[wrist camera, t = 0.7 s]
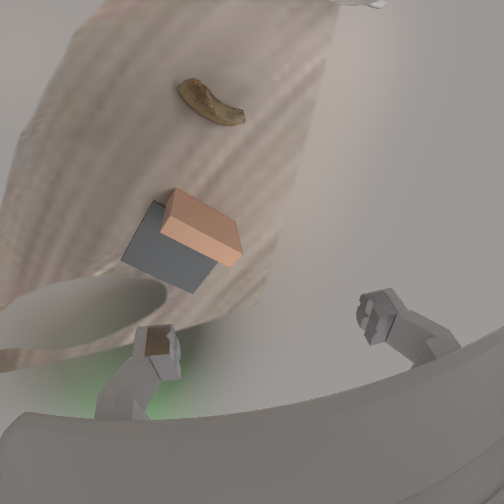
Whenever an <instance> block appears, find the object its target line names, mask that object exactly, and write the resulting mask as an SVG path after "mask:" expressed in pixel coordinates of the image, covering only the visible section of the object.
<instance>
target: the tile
mask: <svg viewBox="0 0 504 504" xmlns="http://www.w3.org/2000/svg"><path fill="white" fill-rule="evenodd" d="M160 233H162V234H164V235H166V236H168V237H170V238H172V239H174V240H176V241H178V242H180V243H182V244H184V245H186V246H188V247H190V248H192V249H194V250H196V251H198V252H200V253H202V254H204V255H206V256H208V257H210V258H212V259H214V260H216V261H218V262H220V263H222V264H224V265H226V266H228V267H230V268H232V267H233V265H234V264H235V263H236V262H237V261H238V259H239V258H240V257H241V256H242V255H243V252H242V248H241V243H240V238H239V234H238V229H237V224H236V221H234V220H233V219H231V218H229V217H227V216H226V215H224V214H222V213H220V212H219V211H217V210H215V209H213V208H212V207H210V206H208V205H206V204H205V203H203V202H201V201H199V200H198V199H196V198H194V197H192V196H190V195H189V194H187V193H185V192H183V191H182V190H180V189H178V188H175V190H174V191H173V193H172V194H171V196H170V197H169V199H168V201H167V203H166V207H165V212H164V216H163V220H162V225H161V229H160Z"/></svg>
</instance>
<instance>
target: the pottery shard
mask: <svg viewBox="0 0 504 504" xmlns="http://www.w3.org/2000/svg"><path fill="white" fill-rule="evenodd" d="M178 90H179V92H180V94H181V95H182V97H183V98H184V100H185V101H186V102H187V103H188V104H189V105H190V106H191V107H192V108H194V109H195V110H196V111H197V112H198V113H199V114H201V115H202V116H204V117H206V118H208V119H210V120H211V121H214V122H216V123H218V124H222V125H224V126H233V125H237V124H241V123H242V124H244V123H245V114H244V111H243V110H240V109H236V108H233V107H230V106H228V105H225V104H223V103H222V102H220V101H219V100H218V99H217V98H215V97H214V96H213V94H212V93H211V92H210V90H209V89H208V88H207V87H206V86H205V85H203V84H202V83H201V82H200V81H199V80H197V79H195V78H192V79H188V80H185V81H184V82H183V83H182V84H180V85H179V86H178Z"/></svg>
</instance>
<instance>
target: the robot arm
mask: <svg viewBox="0 0 504 504" xmlns="http://www.w3.org/2000/svg"><path fill="white" fill-rule="evenodd" d="M329 1H332V2H334V3H337V4H341V5H348V6H356V5H367V6H369V7H372V8H376V9H380V8H383V7H384V6H385V4H386V2H387V0H329ZM359 301H360V303H361V304H360V306H359V307H358V308H357V312H356V316H357V321H358V324H359V326H360V328H362V329H364V330H365V334H364V336H365V337H366V339H367V341H368V343H369V345H374V344H378V343H382V342H386V343H387V344H389V345H390V346H391V347H393V348H394V349H395V350H397V351H398V352H400V353H401V354H402V355H404V356H405V357H406V358H408V359H409V360H411V361H412V362H413V363H414V364H413V366H412V367H411V369H410V370H408V371H405V372H402V373H400V374H397V375H394V376H391V377H388V378H386V379H382V380H380V381H376V382H373V383H370V384H367V385H363V386H360V387H357V388H354V389H350V390H347V391H343V392H340V393H335V394H332V395H328V396H324V397H320V398H316V399H311V400H307V401H303V402H298V403H293V404H288V405H283V406H278V407H273V408H267V409H262V410H255V411H249V412H242V413H235V414H227V415H218V416H209V417H198V418H185V419H167V420H151V419H150V418H149V417H148V416H147V414H146V413H145V412H144V410H145V409H146V407H147V405H148V404H149V402H150V401H151V399H152V397H153V396H154V394H155V392H156V391H157V389H158V388H159V386H160V384H161V381H170V380H179V379H181V374H180V373H181V371H180V370H181V367H180V364H179V361H178V360H179V359H180V345H179V341H178V338H177V337H176V336H175V329H174V327H173V325H172V324H167V325H153V326H142V327H137V329H136V333H135V340H134V347H133V354H132V357H130V358H128V359H127V360H126V362H125V363H124V364H123V365H122V366H121V367H120V369H119V370H118V371H117V372H116V373H115V374H114V376H113V377H112V378H111V379H110V380H109V381H108V383H107V384H106V385H105V386H104V387H103V389H102V390H101V391H100V392H99V393H98V396H97V403H96V409H95V417H94V419H87V418H74V417H64V416H55V415H47V414H40V413H34V412H24V413H23V414H21V415H20V416H19V417H18V418H16V420H14V421H13V422H12V423H11V424H10V426H9V427H8V428H7V429H6V430H5V431H4V432H3V434H2V436H1V438H0V504H504V326H503V327H501V328H499V329H498V330H496V331H494V332H492V333H490V334H488V335H486V336H484V337H482V338H481V339H479V340H477V341H475V342H473V343H471V344H468V345H467V346H464V347H461V346H460V344H459V343H458V341H457V340H456V339H455V337H454V336H453V334H452V333H451V332H450V330H448V329H446V328H445V327H443V326H441V325H439V324H437V323H435V322H433V321H431V320H429V319H427V318H425V317H423V316H421V315H420V314H418V313H416V312H414V311H412V310H410V311H408V309H407V308H406V306H405V305H404V304H403V302H402V301H401V300H400V298H399V297H398V295H397V294H396V293H395V291H394V290H393V289H392V288H387V289H383V290H378V291H374V292H369V293H365V294H362V295H361V296H360V300H359Z"/></svg>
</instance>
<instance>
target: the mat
mask: <svg viewBox="0 0 504 504" xmlns="http://www.w3.org/2000/svg"><path fill="white" fill-rule="evenodd" d="M164 212H165V207H164V206H162V205H160V204H159V203H157V202H155V201H153V203H152V205H151V206H150V208H149V210H148V212H147V213H146V215H145V217H144V219H143V220H142V222H141V224H140V226H139V228H138V229H137V231H136V233H135V235H134V237H133V239H132V240H131V242H130V244H129V246H128V248H127V250H126V252H125V254H124V256H123V258H122V259H121V261H123V262H125V263H127V264H129V265H131V266H134V267H136V268H138V269H140V270H142V271H144V272H146V273H148V274H150V275H153V276H155V277H157V278H159V279H161V280H163V281H166V282H168V283H170V284H172V285H174V286H177V287H179V288H181V289H183V290H186V291H188V292H190V293H192V294H193V293H194V292H195V291H196V289H197V288H198V287H199V285H200V284H201V283H202V282H203V280H204V279H205V278H206V276H207V275H208V274H209V273H210V271H211V270H212V269H213V268H214V266H215V265H216V264H217V262H218V261H216V260H214V259H212V258H210V257H208V256H206V255H204V254H202V253H200V252H198V251H196V250H194V249H192V248H190V247H188V246H186V245H184V244H182V243H180V242H178V241H176V240H174V239H172V238H170V237H168V236H166V235H164V234H162V233H160V229H161V225H162V220H163V216H164Z"/></svg>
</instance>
